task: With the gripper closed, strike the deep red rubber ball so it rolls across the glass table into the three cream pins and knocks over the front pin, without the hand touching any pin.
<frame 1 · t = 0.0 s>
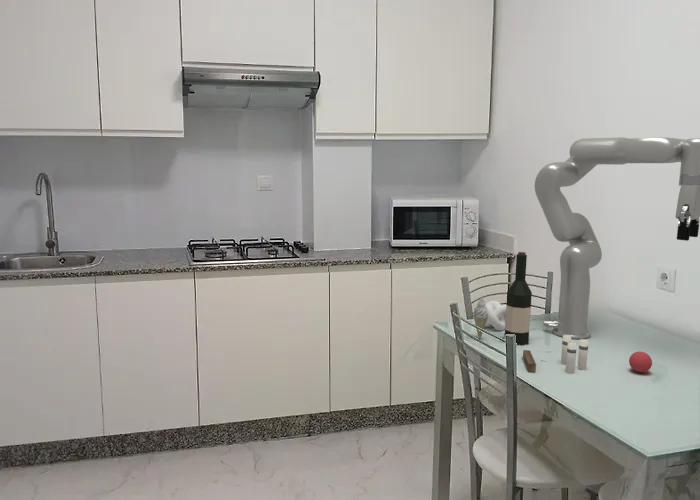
hand: (687, 238, 180), 37 cm above the table, tool pointing down, fingers open, 9 cm apart
back pin far: (565, 363, 180), on the table
white knot: (496, 328, 215), on the table
ice cream cone: (479, 339, 202), on the table
ball: (640, 362, 173), on the table
wine bottle: (516, 341, 200), on the table
front pin: (581, 368, 176), on the table
back wall: (528, 364, 178), on the table
back pin near: (570, 371, 173), on the table
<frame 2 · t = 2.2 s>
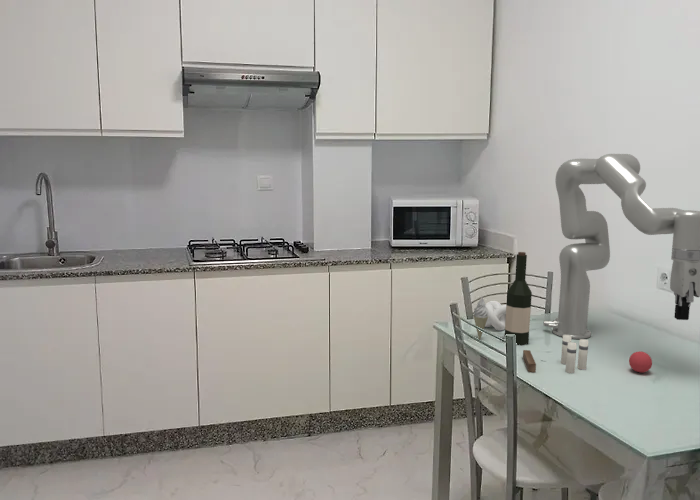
hand: (681, 318, 170), 16 cm above the table, tool pointing down, fingers closed
nothing on the table moved.
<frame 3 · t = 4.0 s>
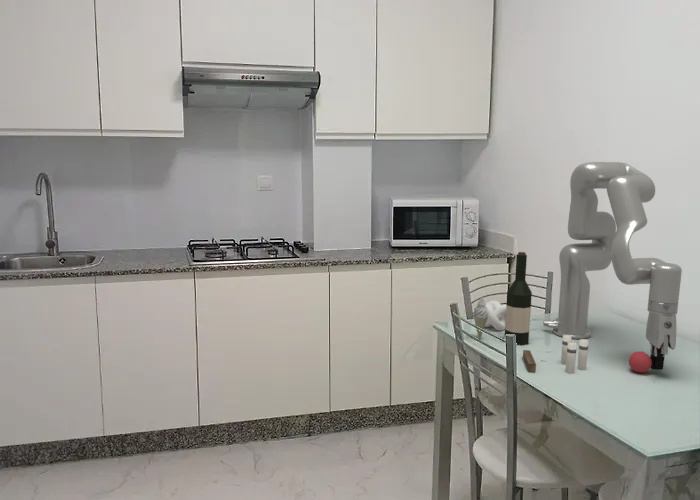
hand: (656, 368, 173), 1 cm above the table, tool pointing down, fingers closed
ball: (640, 361, 173), on the table, touching gripper
everything else where it was.
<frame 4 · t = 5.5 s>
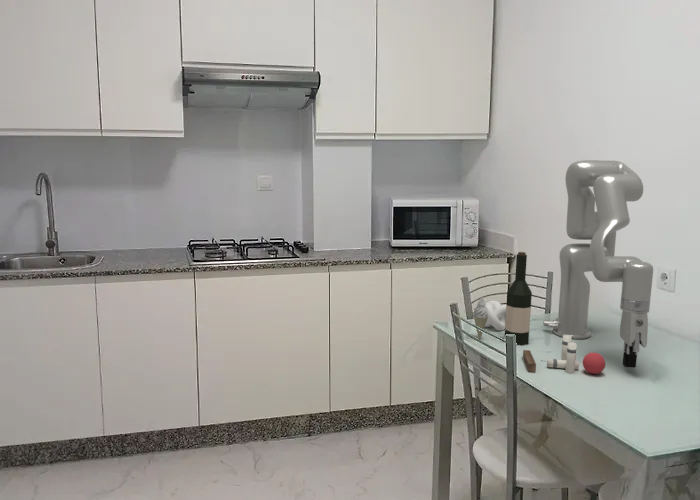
hand: (629, 366, 174), 2 cm above the table, tool pointing down, fingers closed
ball: (593, 363, 172), on the table
front pin: (577, 365, 175), point 1 cm above the table, tilted 90°
everything else where it was.
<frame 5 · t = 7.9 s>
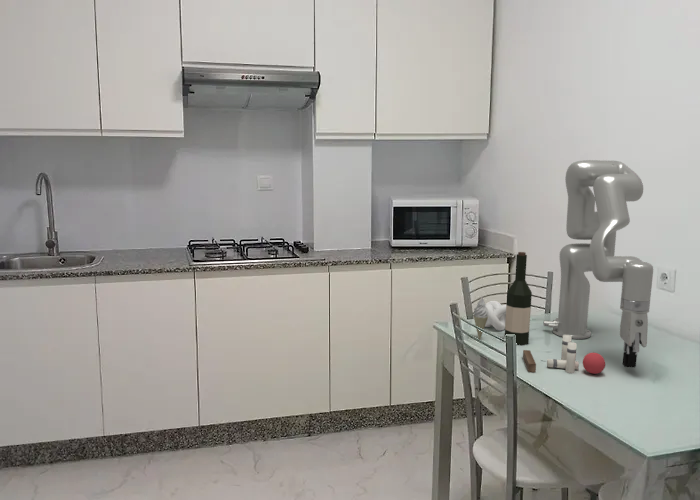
hand: (629, 366, 174), 2 cm above the table, tool pointing down, fingers closed
nothing on the table moved.
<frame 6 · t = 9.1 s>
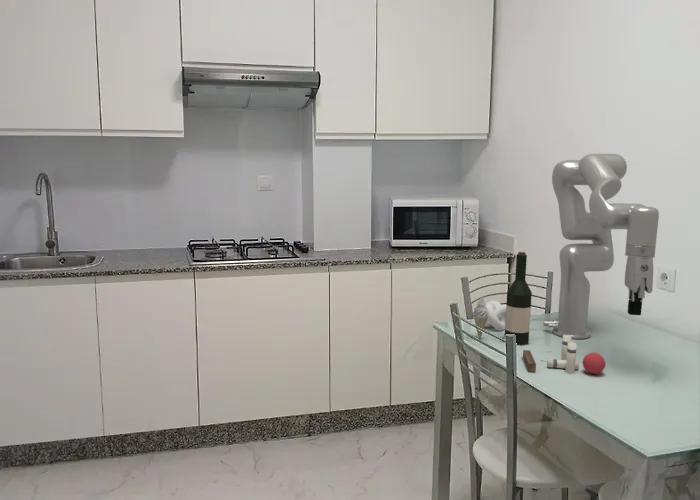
hand: (634, 314, 171), 17 cm above the table, tool pointing down, fingers closed
nothing on the table moved.
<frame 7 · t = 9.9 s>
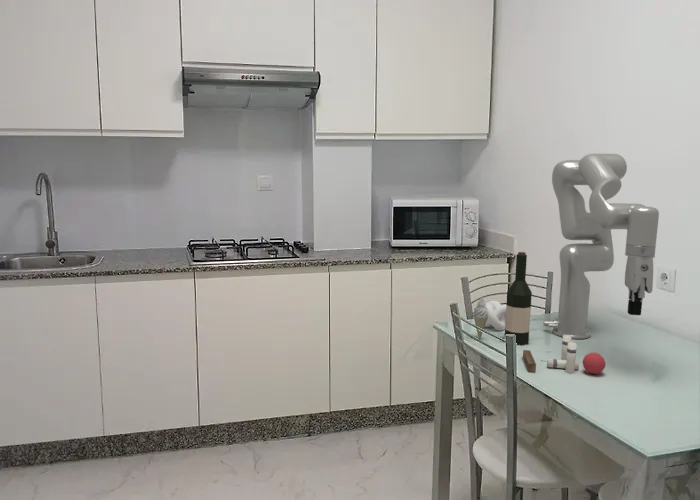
hand: (634, 314, 171), 17 cm above the table, tool pointing down, fingers closed
nothing on the table moved.
at the end: front pin tilted 90°; front pin never touched the robot; ball moved 14.1 cm from its start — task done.
